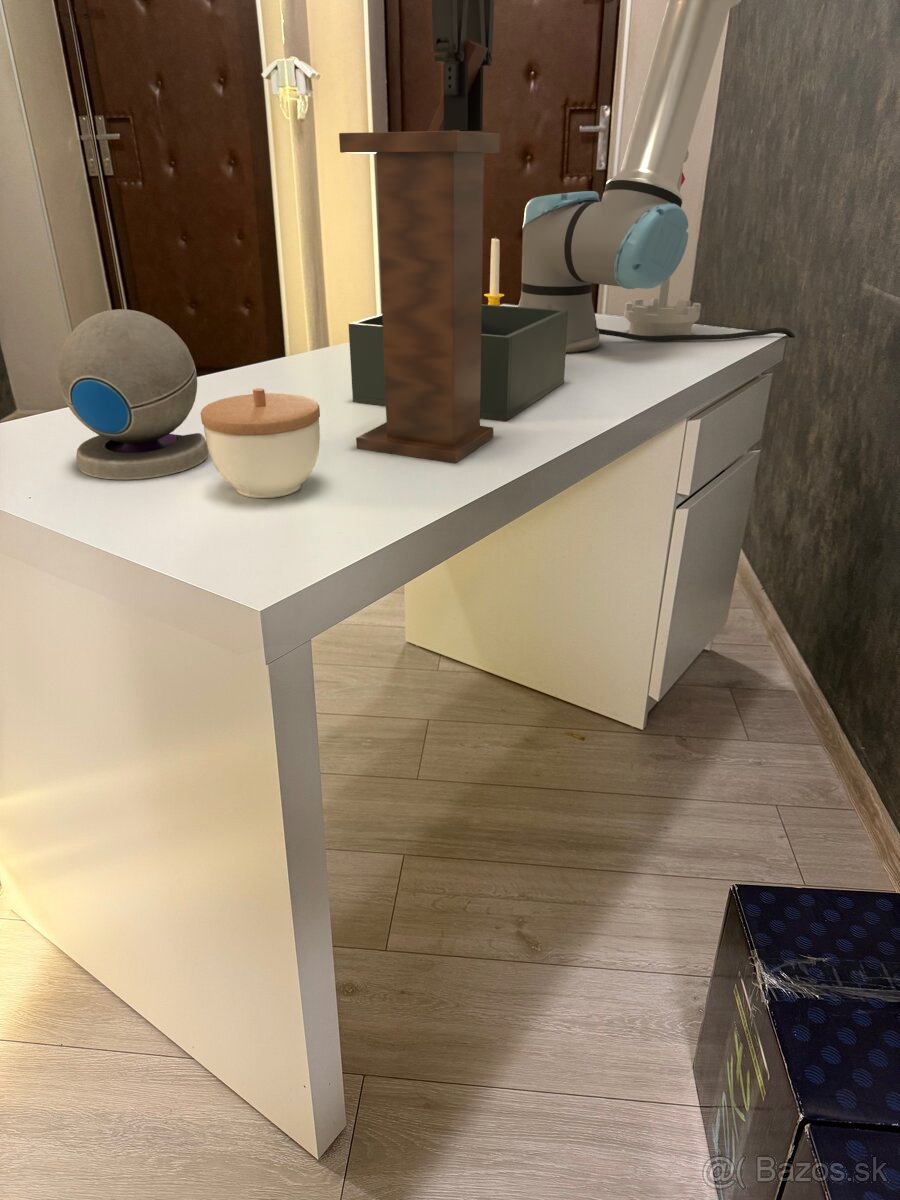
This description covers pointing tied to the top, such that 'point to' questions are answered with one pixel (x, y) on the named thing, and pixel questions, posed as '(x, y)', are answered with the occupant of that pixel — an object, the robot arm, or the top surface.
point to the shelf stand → (429, 288)
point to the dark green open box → (508, 358)
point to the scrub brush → (474, 59)
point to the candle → (494, 274)
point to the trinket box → (263, 441)
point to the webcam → (130, 395)
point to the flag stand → (662, 309)
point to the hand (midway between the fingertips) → (463, 130)
